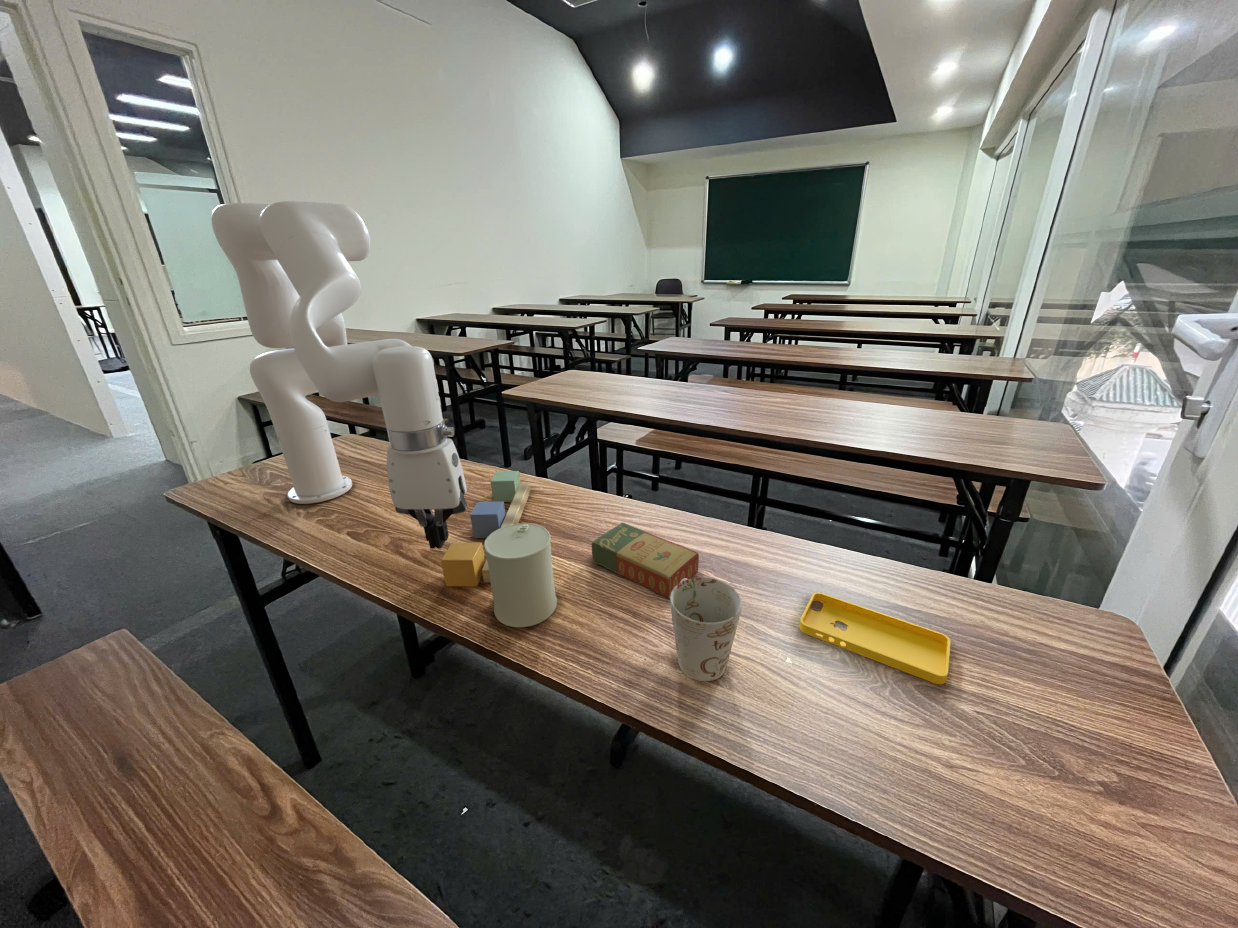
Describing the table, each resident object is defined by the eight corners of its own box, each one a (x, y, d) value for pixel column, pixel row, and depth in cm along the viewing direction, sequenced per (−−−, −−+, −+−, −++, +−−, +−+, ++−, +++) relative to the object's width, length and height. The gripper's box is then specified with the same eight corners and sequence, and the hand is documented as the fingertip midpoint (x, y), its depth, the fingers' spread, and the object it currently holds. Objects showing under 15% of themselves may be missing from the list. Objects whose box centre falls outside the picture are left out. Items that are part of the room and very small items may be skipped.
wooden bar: (521, 492, 106) (520, 482, 105) (530, 492, 106) (529, 482, 105) (483, 582, 76) (481, 570, 75) (496, 582, 76) (494, 570, 75)
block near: (446, 586, 76) (440, 560, 74) (456, 567, 80) (451, 542, 78) (477, 586, 76) (472, 560, 74) (486, 567, 80) (482, 542, 78)
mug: (684, 697, 56) (687, 630, 52) (648, 624, 67) (648, 565, 63) (748, 679, 58) (755, 614, 54) (703, 612, 69) (706, 553, 65)
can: (562, 587, 75) (556, 520, 70) (549, 629, 66) (541, 557, 62) (505, 584, 76) (495, 518, 71) (485, 626, 67) (472, 554, 62)
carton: (669, 600, 71) (669, 576, 70) (591, 561, 81) (589, 540, 79) (698, 573, 77) (699, 551, 75) (622, 540, 87) (621, 519, 85)
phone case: (945, 687, 56) (947, 679, 55) (797, 630, 65) (798, 622, 64) (948, 643, 62) (951, 636, 62) (813, 597, 71) (814, 590, 71)
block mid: (473, 538, 89) (469, 514, 87) (481, 524, 93) (477, 501, 91) (500, 537, 89) (497, 514, 87) (506, 524, 93) (503, 501, 91)
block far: (493, 502, 102) (490, 481, 100) (498, 491, 106) (495, 471, 104) (516, 501, 102) (514, 480, 100) (521, 491, 106) (518, 470, 104)
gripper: (476, 426, 72) (491, 530, 79) (377, 427, 72) (401, 531, 79) (461, 444, 65) (479, 557, 73) (352, 446, 65) (381, 558, 73)
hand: (438, 543), depth 76 cm, fingers closed
